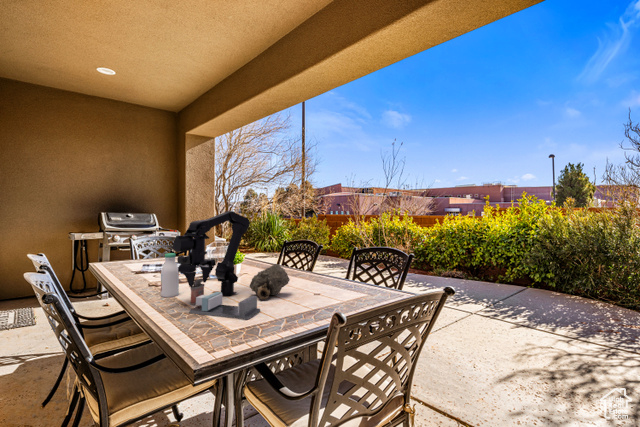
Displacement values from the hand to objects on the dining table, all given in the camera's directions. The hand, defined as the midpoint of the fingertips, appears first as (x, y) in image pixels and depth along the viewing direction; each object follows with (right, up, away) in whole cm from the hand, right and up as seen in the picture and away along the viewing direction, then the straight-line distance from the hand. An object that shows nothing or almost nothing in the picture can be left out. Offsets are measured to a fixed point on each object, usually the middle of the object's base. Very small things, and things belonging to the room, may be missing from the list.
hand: (197, 284), depth 137 cm
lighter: (0, -8, 0) cm, 8 cm away
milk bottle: (-18, -8, +11) cm, 22 cm away
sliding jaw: (+8, -7, -11) cm, 15 cm away
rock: (+29, -8, +11) cm, 32 cm away
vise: (+16, -8, -13) cm, 22 cm away
